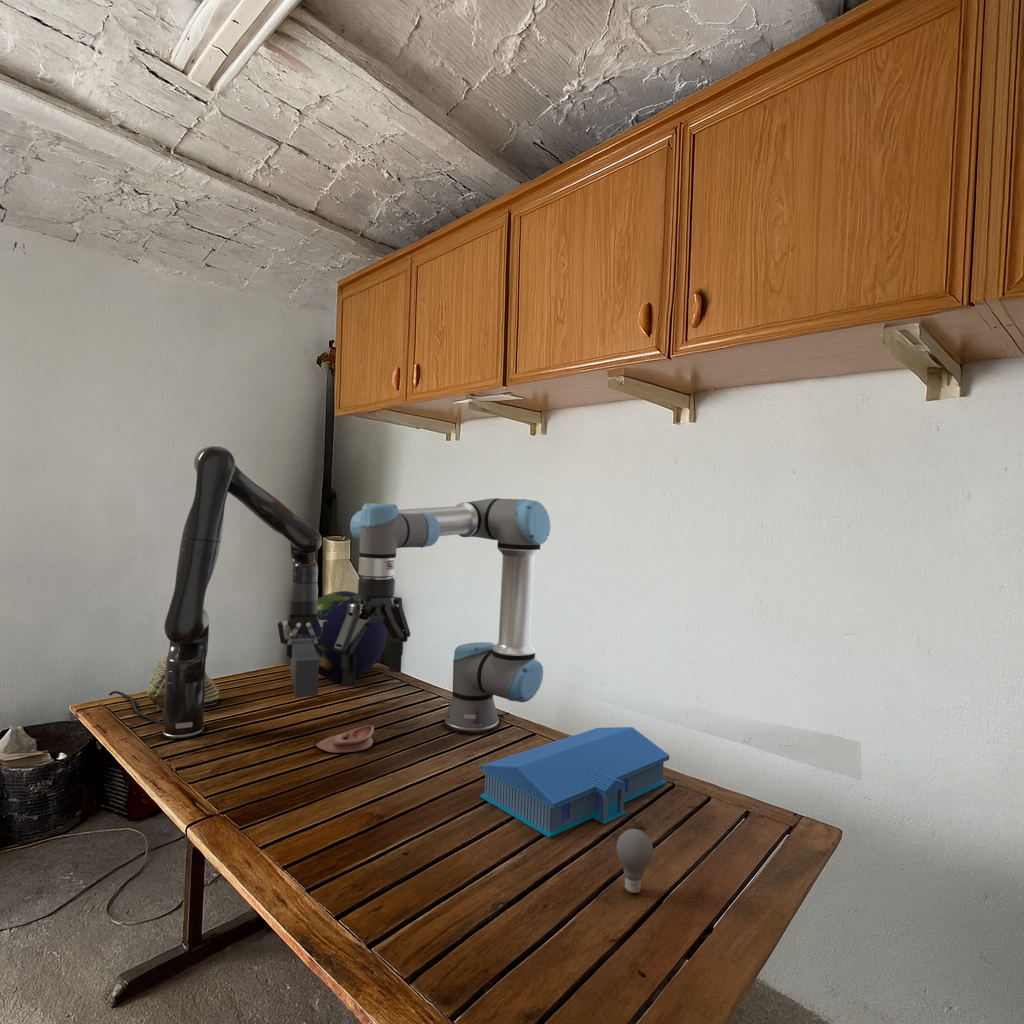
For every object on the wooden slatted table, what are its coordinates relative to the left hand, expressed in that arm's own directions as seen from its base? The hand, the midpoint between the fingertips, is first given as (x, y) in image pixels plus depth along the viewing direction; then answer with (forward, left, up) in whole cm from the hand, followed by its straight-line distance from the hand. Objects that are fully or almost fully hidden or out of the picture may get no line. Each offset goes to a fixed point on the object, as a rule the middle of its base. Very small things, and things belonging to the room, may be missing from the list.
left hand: (301, 656), depth 180 cm
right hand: (+55, -10, +8) cm, 56 cm away
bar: (+8, -3, -5) cm, 10 cm away
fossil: (-28, -22, -17) cm, 40 cm away
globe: (-28, +28, -17) cm, 44 cm away
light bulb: (+109, +7, -17) cm, 111 cm away
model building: (+81, +28, -17) cm, 87 cm away
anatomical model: (+26, 0, -17) cm, 31 cm away
